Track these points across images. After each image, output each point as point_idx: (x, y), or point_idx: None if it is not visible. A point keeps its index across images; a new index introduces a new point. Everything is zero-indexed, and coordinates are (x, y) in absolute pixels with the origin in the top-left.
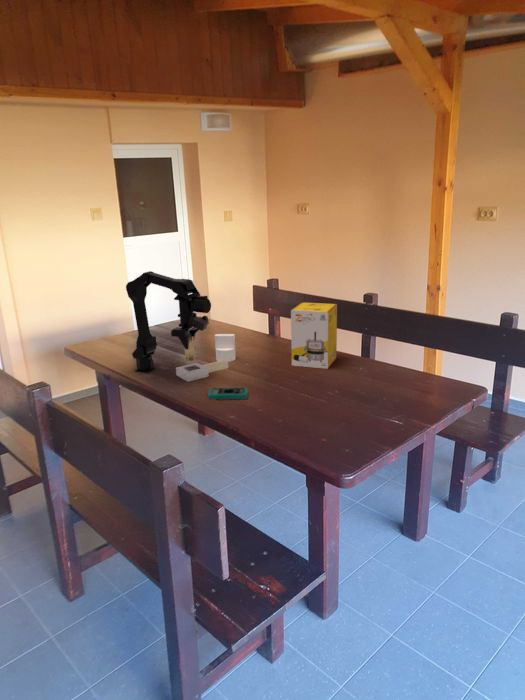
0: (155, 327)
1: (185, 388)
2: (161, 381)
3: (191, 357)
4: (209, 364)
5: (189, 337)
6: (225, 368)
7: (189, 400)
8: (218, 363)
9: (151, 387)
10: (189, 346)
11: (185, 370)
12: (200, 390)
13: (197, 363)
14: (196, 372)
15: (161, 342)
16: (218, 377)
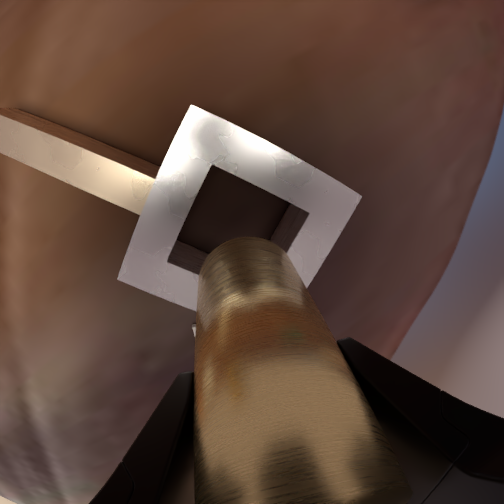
0: (10, 499)
1: (405, 145)
2: (351, 319)
3: (284, 258)
4: (97, 165)
5: (405, 487)
6: (27, 113)
7: (489, 65)
8: (41, 130)
9: (422, 303)
10: (339, 353)
11: (303, 248)
12: (400, 53)
13: (126, 267)
14: (291, 154)
15: (37, 482)
16: (164, 56)
